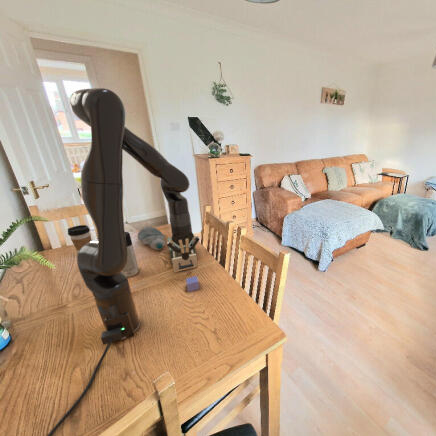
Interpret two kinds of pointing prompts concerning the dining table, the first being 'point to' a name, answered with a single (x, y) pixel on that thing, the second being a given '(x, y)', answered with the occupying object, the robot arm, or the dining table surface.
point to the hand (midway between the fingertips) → (185, 259)
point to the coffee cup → (79, 236)
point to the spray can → (130, 258)
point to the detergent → (152, 237)
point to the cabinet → (178, 247)
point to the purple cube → (192, 283)
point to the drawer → (184, 261)
